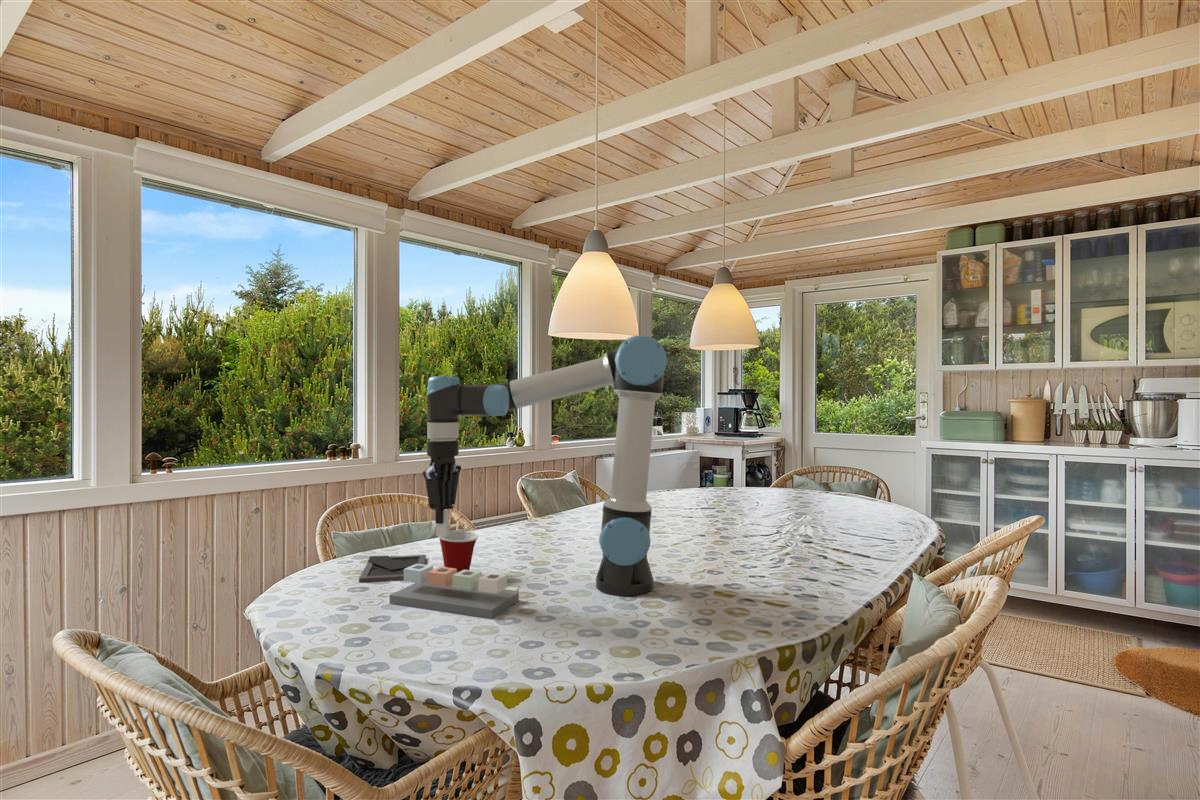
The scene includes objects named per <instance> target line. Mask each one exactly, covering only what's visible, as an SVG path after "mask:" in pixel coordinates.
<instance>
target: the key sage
mask: <svg viewBox="0 0 1200 800" xmlns="http://www.w3.org/2000/svg"><path fill="white" fill-rule="evenodd" d="M482 573H483V572H482V571H477V570H462V571H460V572H458V573H456V574H454V575H453V588H458V589H465V590H472V589H474V588H476V587H477V586H478V578H480V577H482V576H483V574H482Z"/></svg>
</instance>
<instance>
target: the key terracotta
mask: <svg viewBox="0 0 1200 800" xmlns="http://www.w3.org/2000/svg"><path fill="white" fill-rule="evenodd" d="M456 573H457V569H455V568H447V567H445V566H438V567H435V568H433V570H431V571H429V572H428V585H436V586H443V587H446V586H448V585H450V584H452V583H453V575H454V574H456Z"/></svg>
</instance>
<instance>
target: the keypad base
mask: <svg viewBox="0 0 1200 800" xmlns="http://www.w3.org/2000/svg"><path fill="white" fill-rule="evenodd" d="M519 598H520V588H519V587H512V586H507V588H505V589H504V590H502V591H501V592H499V593H497V594H495V593H488V592H480V591H478V586H477V587H476V588H474V589H472V590H465V589H458V588H453V583H452V584H450V585H448V586H446V587H443V586H436V585H428V580H427V581H425V582H423V583H414V582H413V583H412V584H410V585H408V586H406V587H403V588H402V589H398V590H397V591H395V592H393V593H391V594H389V604H391V603H393V605H398V604H399V605H400V606H404V605H406V606H405V607H411V606H413V607H412V608H418V607H420V608H419V609H424V608H425V609H426V610H431V609H432V610H431V611H437V610H438V611H439V612H444V613H452V614H458V615H464V616H470V617H471V616H473V617H479V618H484V619H485V618H486V619H491V620H492V619H494V618H496V617H497V616H498V615H500V614H501V613H503V612H504V611H506V610H507V609H508V608H510V607H511V606H512V605H514V604H516V603H517V602H518V600H520V599H519ZM515 602H516V603H515ZM502 611H503V612H502ZM499 613H500V614H499Z"/></svg>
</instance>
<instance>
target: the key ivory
mask: <svg viewBox="0 0 1200 800" xmlns="http://www.w3.org/2000/svg"><path fill="white" fill-rule="evenodd" d="M507 587H508V574H503V573H495V572H487V573H486V574H483V575H482V577H480V578H478V591H480V592H488V593H495V594H497V593H499V592H501V591H502V590H504V589H505V588H507Z"/></svg>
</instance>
